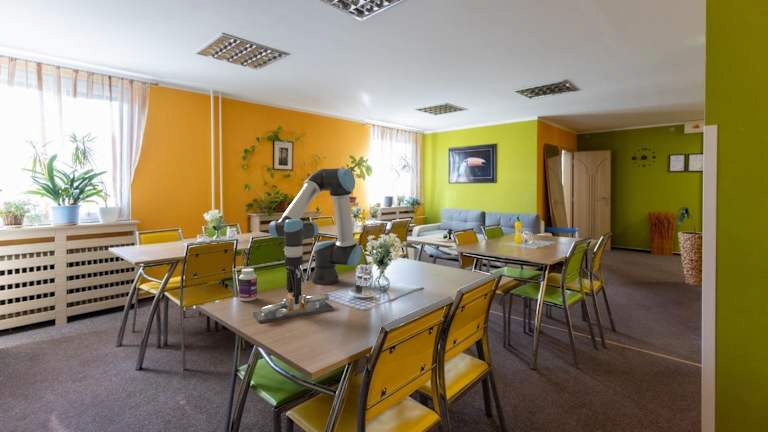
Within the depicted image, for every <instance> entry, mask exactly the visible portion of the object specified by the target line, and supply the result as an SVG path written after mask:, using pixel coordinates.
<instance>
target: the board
mask: <svg viewBox="0 0 768 432" xmlns="http://www.w3.org/2000/svg"><path fill="white" fill-rule="evenodd" d="M334 309H335V307H334V306H333V305H331V304H330V303H328V302H327V301H325V306H323V307H318V306H317V305H316V304H315V302H313V303H307V306H306V303H305V302H303V301H302V308H300V309H295V310H289V308H288V307H287V310H286V311H284V310H283V309H281V310H278V311H277V317H276V318H273V319H268V318H265V317H264V315H262V314H261V312H260V310H258V311H257V310H256V311H253V312H252V316H253V318H255V320H256V322H257V323H258V322H259V323H258V324H263V323H268V322H274V321H280V320H284V319H291V318H296V317H302V316H308V315H312V314H313V315H314V314H317V313H324V312H325V313H326V312H330V311H334Z"/></svg>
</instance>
